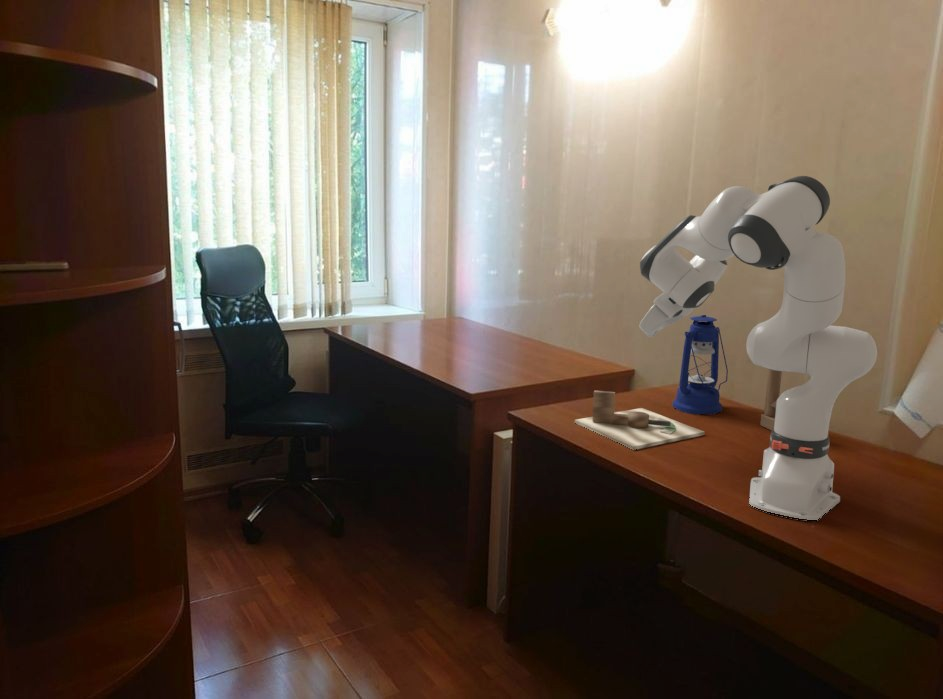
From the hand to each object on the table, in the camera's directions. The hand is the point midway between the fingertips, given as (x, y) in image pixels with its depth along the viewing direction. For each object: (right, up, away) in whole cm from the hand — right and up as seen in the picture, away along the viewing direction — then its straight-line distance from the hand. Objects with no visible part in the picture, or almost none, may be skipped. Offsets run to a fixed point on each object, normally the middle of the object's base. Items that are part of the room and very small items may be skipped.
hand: (649, 335), depth 197 cm
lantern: (+23, -23, +30) cm, 44 cm away
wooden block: (+39, -28, +8) cm, 48 cm away
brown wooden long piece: (-3, -26, +9) cm, 27 cm away
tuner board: (-1, -27, +9) cm, 28 cm away
